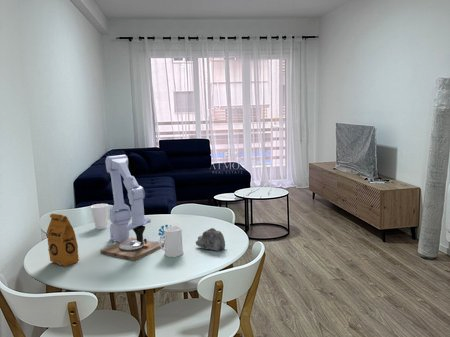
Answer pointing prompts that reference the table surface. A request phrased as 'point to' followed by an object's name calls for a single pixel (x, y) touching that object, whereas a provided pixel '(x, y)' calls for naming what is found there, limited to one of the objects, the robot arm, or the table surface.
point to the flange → (132, 245)
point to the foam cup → (100, 215)
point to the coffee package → (62, 241)
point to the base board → (134, 254)
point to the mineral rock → (211, 240)
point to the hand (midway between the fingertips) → (139, 241)
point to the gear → (162, 231)
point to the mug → (172, 241)
